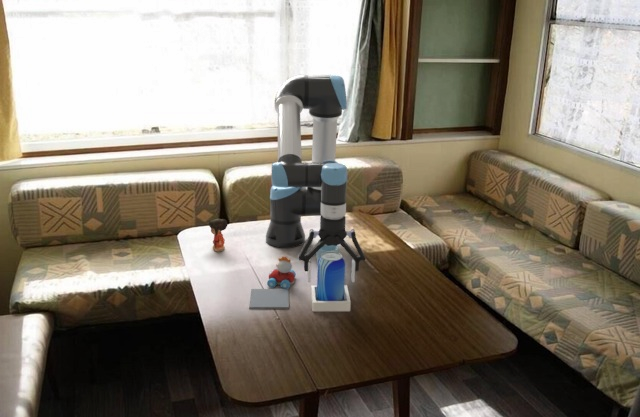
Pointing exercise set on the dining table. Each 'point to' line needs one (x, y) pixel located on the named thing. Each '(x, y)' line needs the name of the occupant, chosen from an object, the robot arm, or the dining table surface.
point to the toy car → (282, 274)
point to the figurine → (218, 233)
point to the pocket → (330, 302)
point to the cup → (326, 250)
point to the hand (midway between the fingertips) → (330, 280)
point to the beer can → (330, 277)
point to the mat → (269, 299)
